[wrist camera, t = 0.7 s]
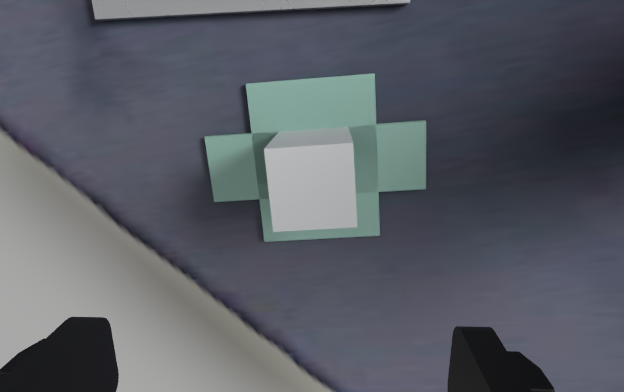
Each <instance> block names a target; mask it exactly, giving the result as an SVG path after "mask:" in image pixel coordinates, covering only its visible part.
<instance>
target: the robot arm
mask: <svg viewBox="0 0 624 392" xmlns="http://www.w3.org/2000/svg"><path fill="white" fill-rule="evenodd" d="M117 385H118V367H117V362H116V356H115V350H114V344H113V338H112V332H111V327H110V323H109V322H108V320H107V319H106V318H99V317H70V318H68V319H67V320H66V321H64V322H63V323H62V324H61V325H60V326H59V327H58V328H57V329H56V330H55V331H54V332H53V333H51V335H49V336H48V337H47V338H46V339H42V340H41V341H39V342H38V343H35V344H34V345H32V346H30V347H28V348H27V349H25V350H23V351H22V352H20V353H18V354H17V355H16V356H15V357H14V358H12V359H11V360H10V361H9V362H8V363H7V364H6V365H5V366H4V367H2V368H1V369H0V392H116V389H117ZM448 392H555V391H554V388H553V386H552V385H551V383H550V382H549V380H548V379H547V377H546V376H545V375H544V373H543V372H542V370H541V369H540V368H539V367H538V366H536V365H535V364H534V363H533V362H531V361H530V360H529V359H527V358H526V357H525V356H524V355H522V354H521V353H520V352H510V351H506V349H505V347H504V346H503V344H502V343H501V341H500V339H499V338H498V336H497V334H496V333H495V331H494V330H493V329H492V328H491V327H458V326H457V327H455V329H454V331H453V337H452V347H451V356H450V366H449V375H448Z"/></svg>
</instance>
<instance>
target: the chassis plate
mask: <svg viewBox="0 0 624 392" xmlns="http://www.w3.org/2000/svg"><path fill="white" fill-rule="evenodd" d="M409 3H410V0H92V4H93V10H94V15H95V19H96V20H100V21H106V20H125V19H144V18H163V17H182V16H201V15H219V14H238V13H257V12H276V11H295V10H314V9H333V8H351V7H370V6H389V5H408V4H409Z"/></svg>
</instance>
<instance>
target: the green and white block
mask: <svg viewBox="0 0 624 392" xmlns="http://www.w3.org/2000/svg"><path fill="white" fill-rule="evenodd" d="M246 91H247V99H248V108H249V116H250V125H251V133H241V134H227V135H214V136H205V137H204V138H205V145H206V151H207V158H208V164H209V171H210V178H211V184H212V191H213V197H214V202H224V201H240V200H256V199H259V200H260V209H261V217H262V226H263V234H264V242H271V241H289V240H307V239H326V238H344V237H362V236H380V223H379V192H386V191H403V190H419V189H426V121H425V120H421V121H408V122H394V123H380V124H376V100H375V74H362V75H349V76H337V77H324V78H312V79H299V80H287V81H274V82H262V83H249V84H246Z"/></svg>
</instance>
